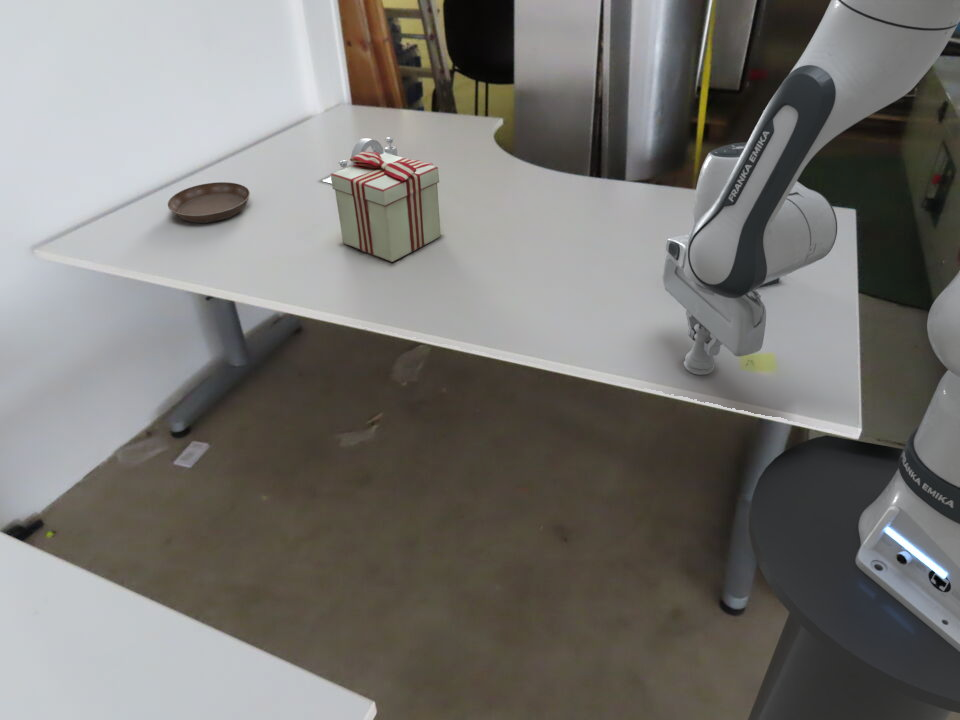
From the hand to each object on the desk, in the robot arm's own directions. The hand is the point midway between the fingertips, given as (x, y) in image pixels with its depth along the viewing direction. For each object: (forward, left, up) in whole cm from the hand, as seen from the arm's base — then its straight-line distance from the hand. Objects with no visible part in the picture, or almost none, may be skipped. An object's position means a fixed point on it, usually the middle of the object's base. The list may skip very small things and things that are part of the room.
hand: (702, 345), depth 103 cm
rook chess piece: (0, 0, -4) cm, 4 cm away
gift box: (+60, +34, -4) cm, 69 cm away
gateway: (+97, +32, -4) cm, 102 cm away
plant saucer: (+89, +70, -4) cm, 113 cm away
